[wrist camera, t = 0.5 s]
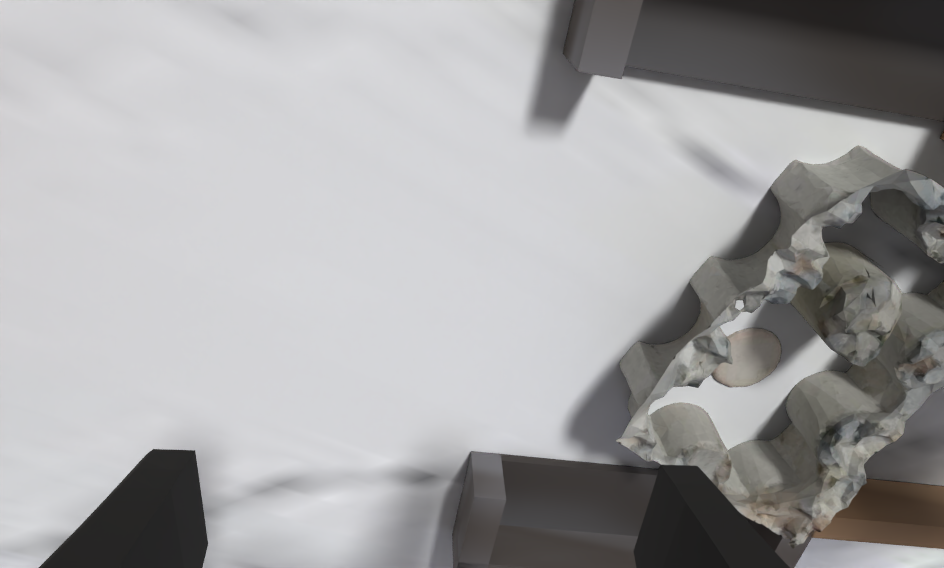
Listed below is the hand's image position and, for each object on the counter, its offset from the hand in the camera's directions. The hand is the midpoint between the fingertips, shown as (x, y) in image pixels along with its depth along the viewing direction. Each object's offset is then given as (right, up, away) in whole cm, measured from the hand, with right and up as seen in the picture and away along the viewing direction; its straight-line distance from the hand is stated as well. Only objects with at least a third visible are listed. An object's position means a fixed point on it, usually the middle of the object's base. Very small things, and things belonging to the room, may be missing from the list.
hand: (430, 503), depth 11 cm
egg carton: (+10, +3, +11) cm, 15 cm away
